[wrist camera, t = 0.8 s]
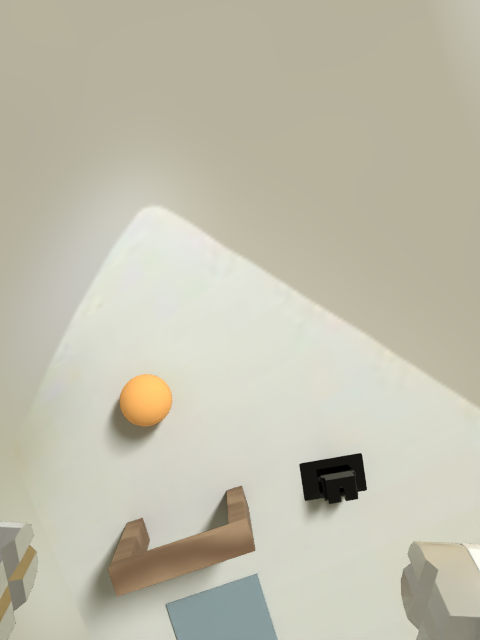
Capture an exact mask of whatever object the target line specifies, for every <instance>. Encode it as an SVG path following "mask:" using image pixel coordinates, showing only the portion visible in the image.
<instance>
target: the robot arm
mask: <svg viewBox="0 0 480 640" xmlns="http://www.w3.org/2000/svg"><path fill="white" fill-rule="evenodd" d="M33 537H34V534H33V530H32V525H31V524H27V523H15V522H2V521H0V640H8V639H9V636H10V634H11V632H12V630H13V628H14V626H15V624H16V621H15V616H14V611H15V610H16V609H17V608H19V606H21V605H22V604H23V603H25V602H26V601H27V599H28V597H29V594H30V592H31V590H32V588H33V585H34V580H35V577H36V573H37V565H38V558H37V552H36V551H35V550H34V549H33V548H32V547H31V546H30V545H29V544H30V542H31V540H32V539H33ZM408 556H409V559H410V562H411V564H409V565H408V566H407V567H406V568H404V569H403V574H402V578H401V595H402V600H403V605H404V609H405V612H406V615H407V618H408V620H409V621H410V622H411V623H412V624H413V625H414V626H415V627H416V628H417V629H418V630H419V633H418V636H417V639H416V640H480V544H458V543H440V542H413V543H412V544H411V545H410V548H409V551H408Z"/></svg>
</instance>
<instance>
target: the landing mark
mask: <svg viewBox="0 0 480 640" xmlns="http://www.w3.org/2000/svg"><path fill="white" fill-rule="evenodd" d="M166 606H167V609H168V612H169V615H170V619H171V622H172V625H173V628H174V631H175V634H176V637H177V640H277V637H276V634H275V630H274V627H273V624H272V621H271V618H270V614H269V611H268V608H267V605H266V602H265V598H264V595H263V592H262V589H261V586H260V582H259V579H258V576H257V574H255V575H252V576H249V577H246V578H243V579H240V580H237V581H234V582H231V583H228V584H225V585H222V586H219V587H216V588H213V589H210V590H207V591H204V592H201V593H198V594H195V595H192V596H189V597H186V598H183V599H180V600H177V601H174V602H171V603H168V604H166Z"/></svg>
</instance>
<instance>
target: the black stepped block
mask: <svg viewBox="0 0 480 640" xmlns="http://www.w3.org/2000/svg"><path fill="white" fill-rule="evenodd" d="M300 472H301V479H302V485H303V492H304V499H305V501H308V500H314V499H319V498H323V499H324V500H325V501H328V503H329V504H332V503H338V502H341V496H344V497H345V500H346V501H349V500H355V499H358V492H359V491H365V490H367V486H366V479H365V472H364V465H363V458H362V454H361V453H359V454H353V455H347V456H341V457H336V458H330V459H324V460H318V461H313V462H307V463H301V464H300Z"/></svg>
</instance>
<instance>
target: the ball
mask: <svg viewBox="0 0 480 640" xmlns="http://www.w3.org/2000/svg"><path fill="white" fill-rule="evenodd" d="M171 404H172V395H171V391H170V389H169V387H168V385H167V384H166V383H165V382H164V381H163V380H162V379H161V378H159V377H157V376H154V375H148V374H145V375H139V376H137V377H135V378H133V379H131V380H130V381H129V382H128V383H127V384H126V385H125V386H124V388H123V390H122V392H121V395H120V408H121V411H122V413H123V415H124V416H125V418H126V419H127V420H128V421H130V422H131V423H133V424H135V425H138V426H152V425H155V424H157V423H159V422H160V421H162V420H163V419H164V418H165V417H166V415H167V414H168V412H169V410H170V408H171Z"/></svg>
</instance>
